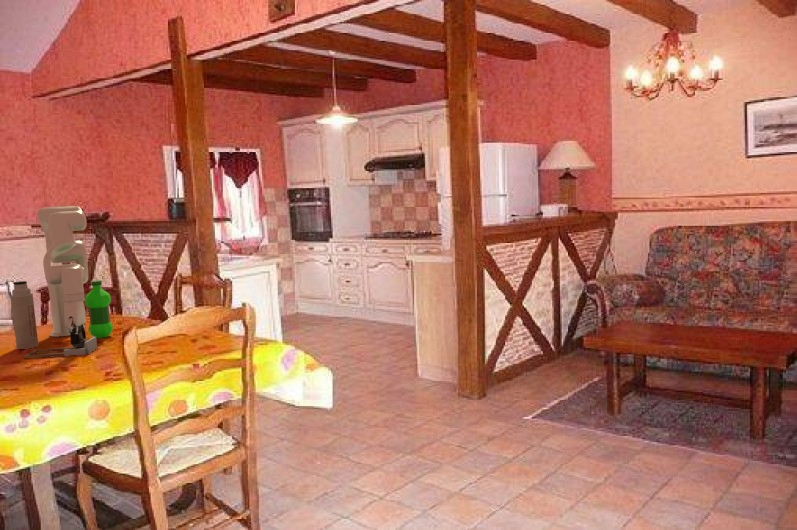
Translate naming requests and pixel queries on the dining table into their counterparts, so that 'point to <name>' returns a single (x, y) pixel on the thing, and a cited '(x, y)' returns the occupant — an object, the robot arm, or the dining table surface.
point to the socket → (89, 347)
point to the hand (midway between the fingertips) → (78, 341)
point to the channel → (31, 354)
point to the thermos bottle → (24, 316)
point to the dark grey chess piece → (79, 339)
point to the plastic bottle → (99, 310)
